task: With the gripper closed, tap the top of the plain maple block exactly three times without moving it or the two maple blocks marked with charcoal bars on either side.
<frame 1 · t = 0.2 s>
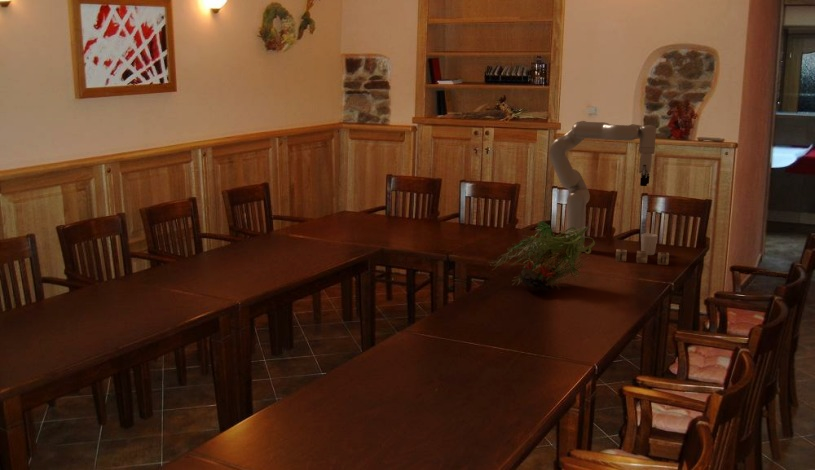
hand: (644, 184, 425), 37 cm above the table, tool pointing down, fingers open, 9 cm apart
plain maple block: (641, 261, 419), on the table
white cup: (647, 254, 437), on the table
marked block left: (620, 260, 422), on the table
marked block right: (662, 263, 417), on the table
plant: (542, 286, 369), on the table
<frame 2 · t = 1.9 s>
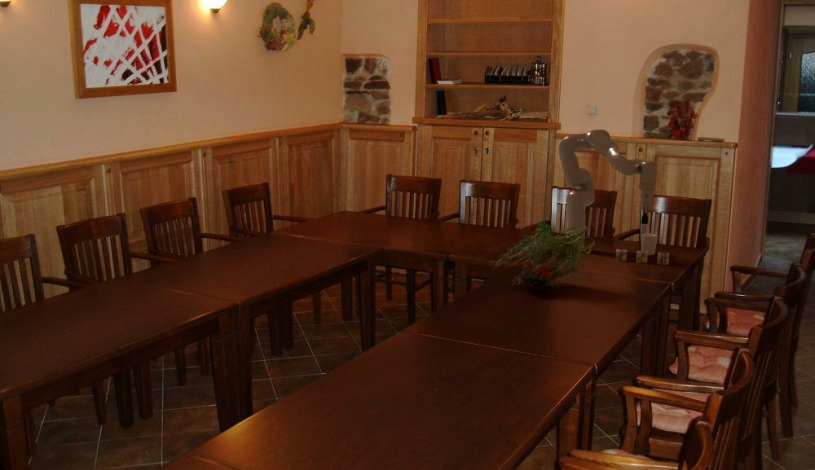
hand: (644, 223, 416), 19 cm above the table, tool pointing down, fingers closed
nothing on the table moved.
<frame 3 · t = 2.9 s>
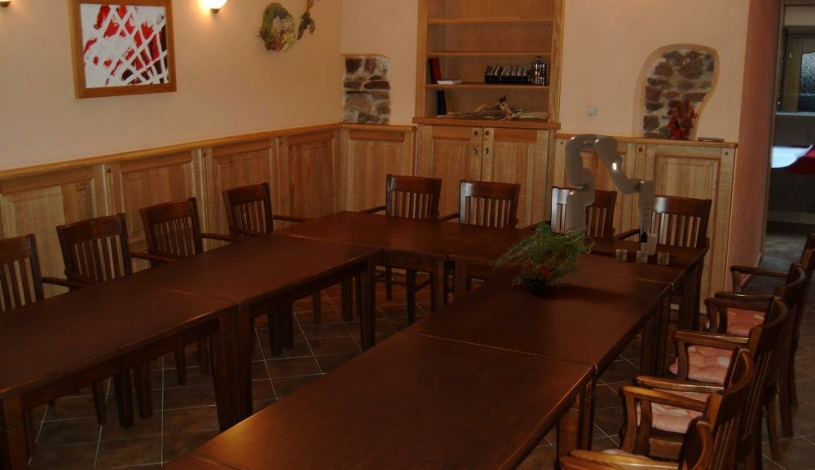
hand: (643, 242, 417), 10 cm above the table, tool pointing down, fingers closed
nothing on the table moved.
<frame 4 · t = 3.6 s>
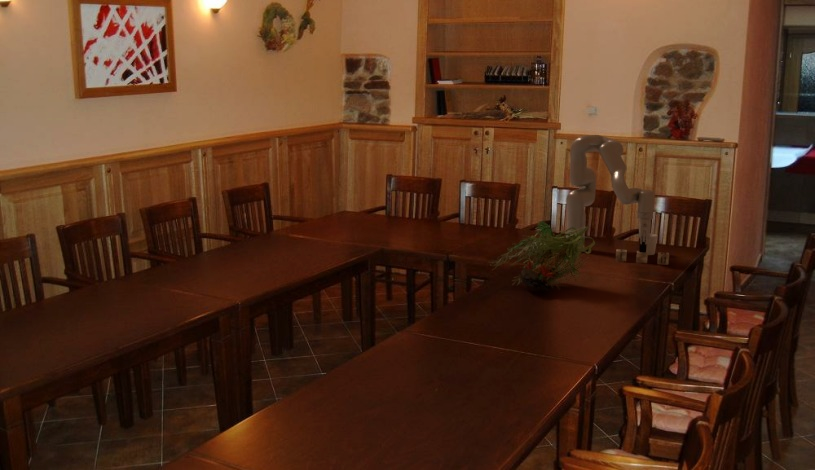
hand: (642, 251, 418), 5 cm above the table, tool pointing down, fingers closed
plain maple block: (641, 261, 419), on the table, touching gripper
everything else where it was.
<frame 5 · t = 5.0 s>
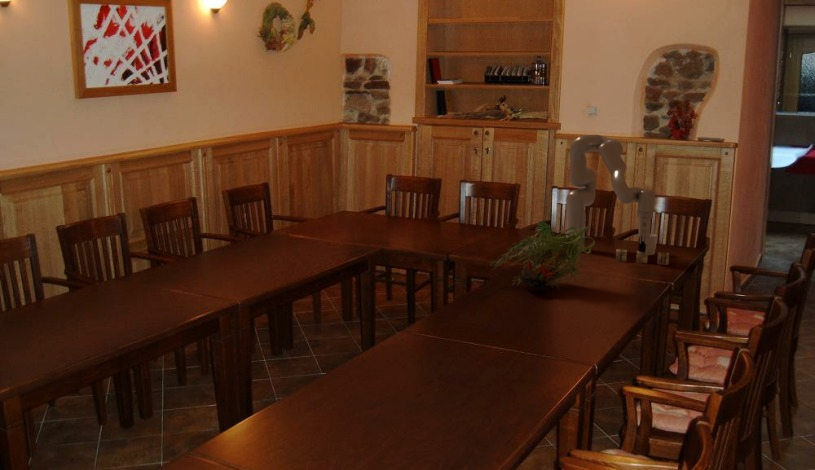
hand: (641, 251, 419), 5 cm above the table, tool pointing down, fingers closed
plain maple block: (641, 261, 419), on the table
everything else where it was.
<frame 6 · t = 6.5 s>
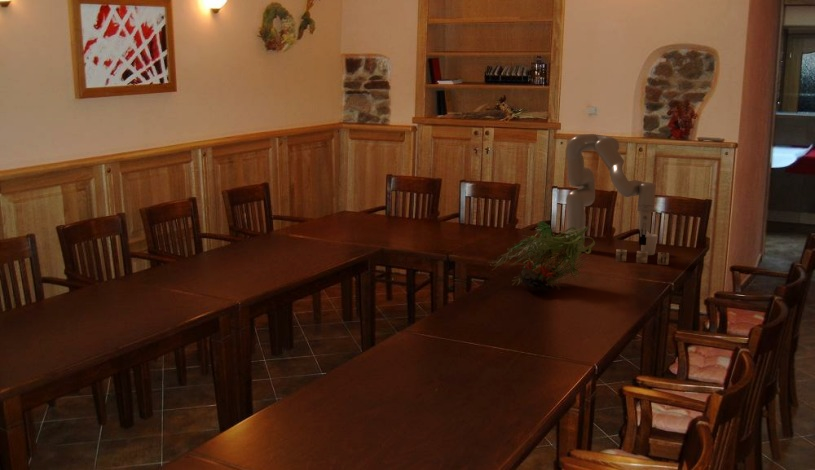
hand: (642, 244, 418), 9 cm above the table, tool pointing down, fingers closed
nothing on the table moved.
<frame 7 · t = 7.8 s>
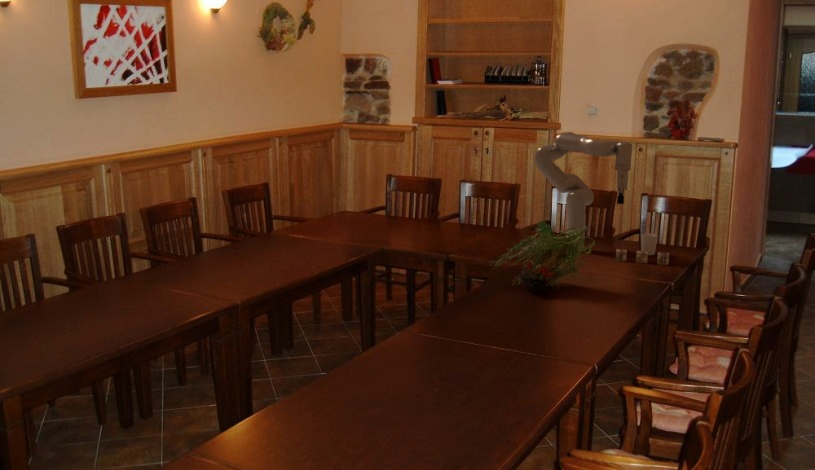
hand: (620, 203, 425), 27 cm above the table, tool pointing down, fingers closed
nothing on the table moved.
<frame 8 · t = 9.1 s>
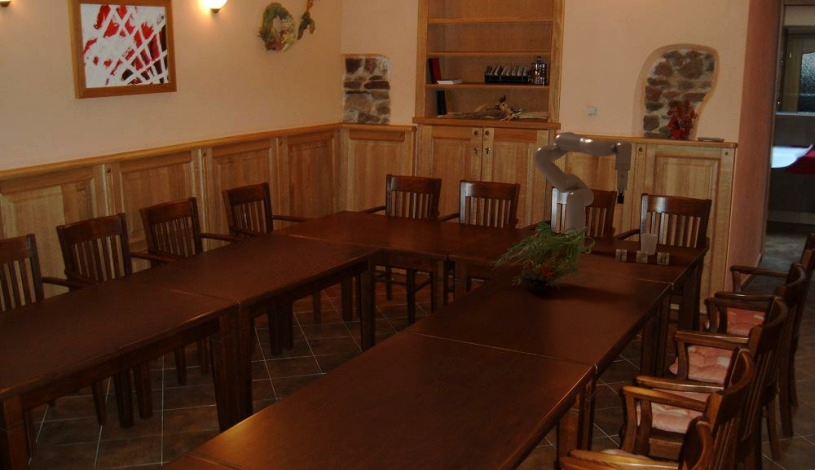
hand: (620, 203, 425), 27 cm above the table, tool pointing down, fingers closed
nothing on the table moved.
at the end: plain maple block moved 0.1 cm from its start; marked block left moved 0.1 cm from its start; marked block right moved 0.1 cm from its start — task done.
